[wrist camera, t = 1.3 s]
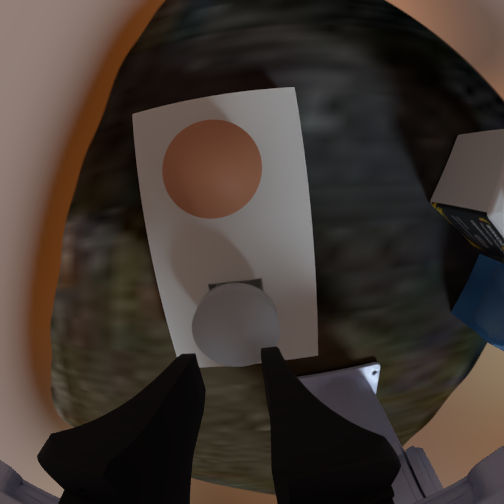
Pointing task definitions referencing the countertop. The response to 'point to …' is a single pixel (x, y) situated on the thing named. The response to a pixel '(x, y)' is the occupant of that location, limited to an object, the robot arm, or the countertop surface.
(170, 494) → the robot arm
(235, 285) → the grey button
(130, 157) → the countertop surface
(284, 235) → the panel
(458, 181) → the medicine bottle
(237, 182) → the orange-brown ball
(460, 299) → the perfume bottle
